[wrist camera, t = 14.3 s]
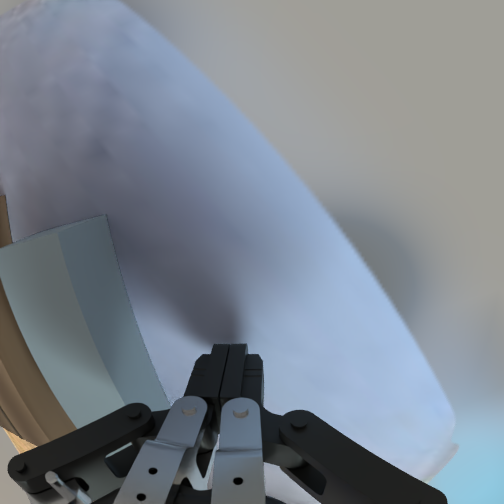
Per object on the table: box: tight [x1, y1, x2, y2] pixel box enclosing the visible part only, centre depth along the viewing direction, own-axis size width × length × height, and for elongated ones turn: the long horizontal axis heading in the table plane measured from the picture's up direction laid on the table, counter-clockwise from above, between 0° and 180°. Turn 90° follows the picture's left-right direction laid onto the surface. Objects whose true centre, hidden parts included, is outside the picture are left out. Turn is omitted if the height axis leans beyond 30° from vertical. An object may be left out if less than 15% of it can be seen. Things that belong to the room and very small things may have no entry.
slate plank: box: [0, 214, 171, 457], centre depth 13 cm, size 5×14×4 cm, turn 9°
